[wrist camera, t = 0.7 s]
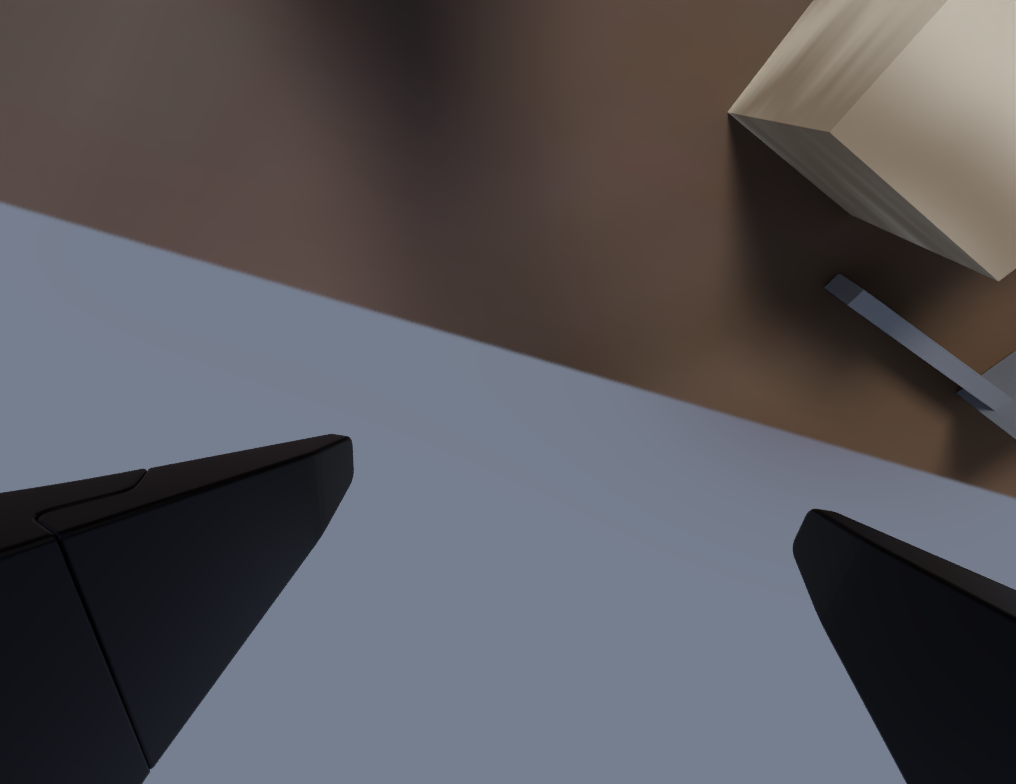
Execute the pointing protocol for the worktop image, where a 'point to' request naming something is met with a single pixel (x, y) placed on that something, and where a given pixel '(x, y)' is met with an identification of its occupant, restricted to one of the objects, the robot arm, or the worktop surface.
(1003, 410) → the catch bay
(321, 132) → the worktop surface
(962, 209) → the wide block
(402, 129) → the worktop surface
